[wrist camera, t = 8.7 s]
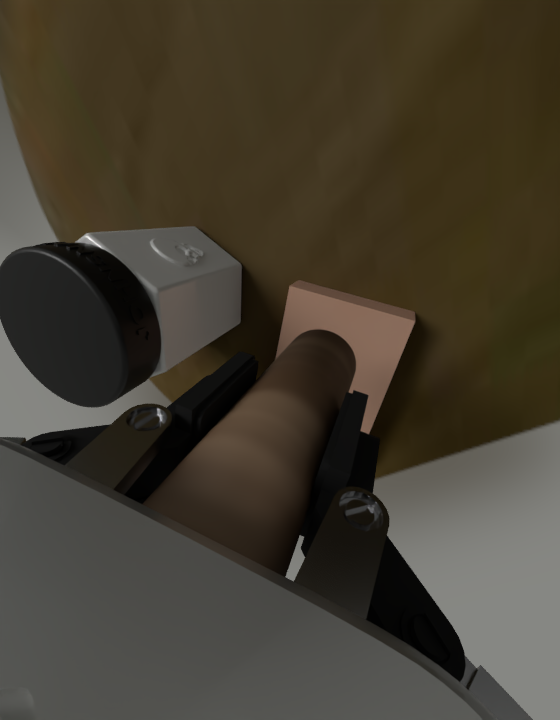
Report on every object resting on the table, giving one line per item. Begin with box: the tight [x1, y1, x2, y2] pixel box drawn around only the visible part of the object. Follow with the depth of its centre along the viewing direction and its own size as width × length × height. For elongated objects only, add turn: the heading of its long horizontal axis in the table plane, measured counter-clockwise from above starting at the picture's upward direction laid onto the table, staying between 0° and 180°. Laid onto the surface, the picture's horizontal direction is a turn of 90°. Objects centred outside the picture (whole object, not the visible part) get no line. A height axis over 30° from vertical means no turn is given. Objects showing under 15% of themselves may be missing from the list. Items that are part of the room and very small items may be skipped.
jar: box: [0, 226, 242, 407], centre depth 20 cm, size 9×8×12 cm
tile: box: [275, 280, 415, 434], centre depth 24 cm, size 2×8×12 cm
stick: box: [142, 329, 356, 577], centre depth 10 cm, size 3×3×12 cm
